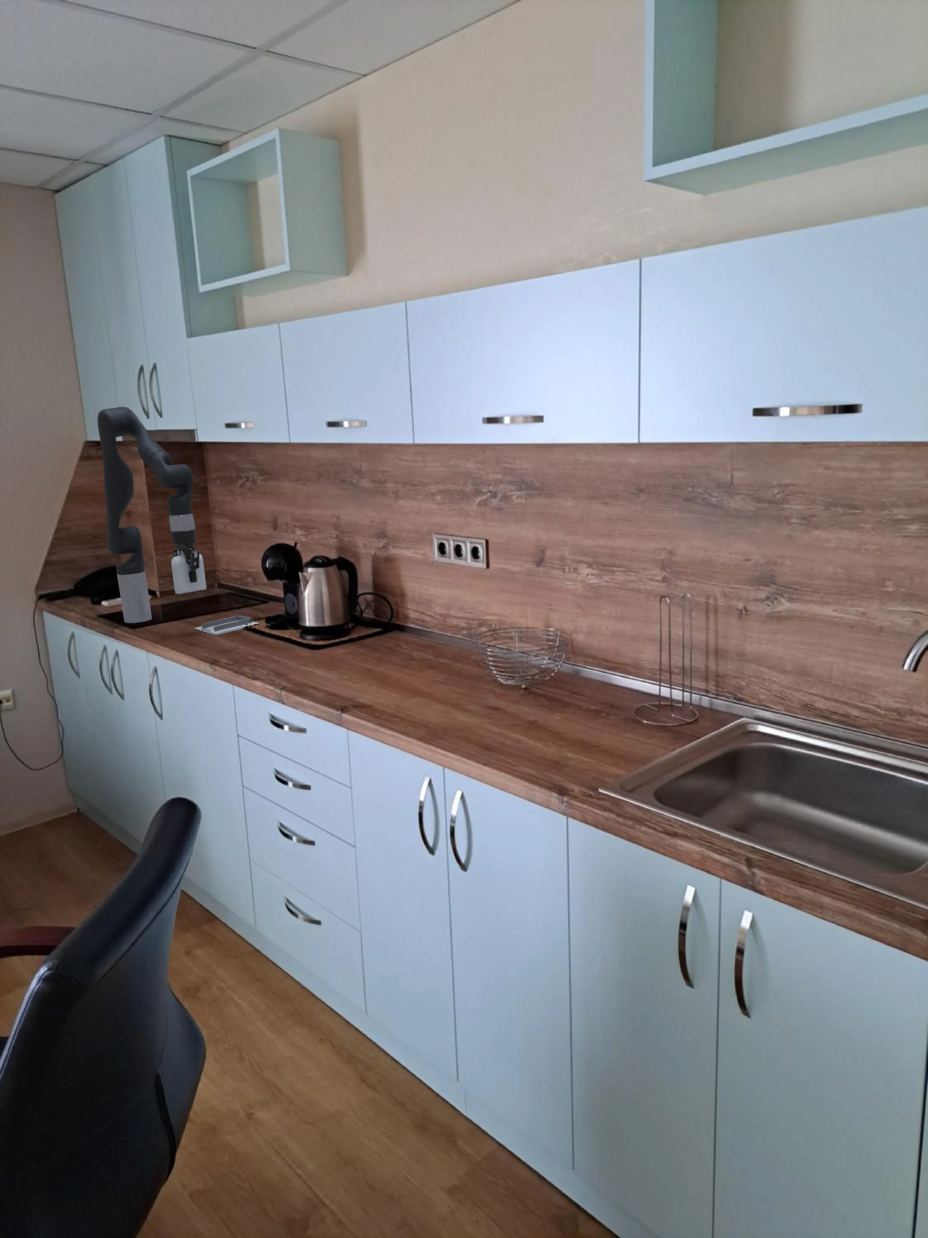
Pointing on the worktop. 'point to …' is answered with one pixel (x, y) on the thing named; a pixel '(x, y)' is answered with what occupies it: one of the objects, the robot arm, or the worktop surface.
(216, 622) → the dock
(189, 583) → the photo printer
